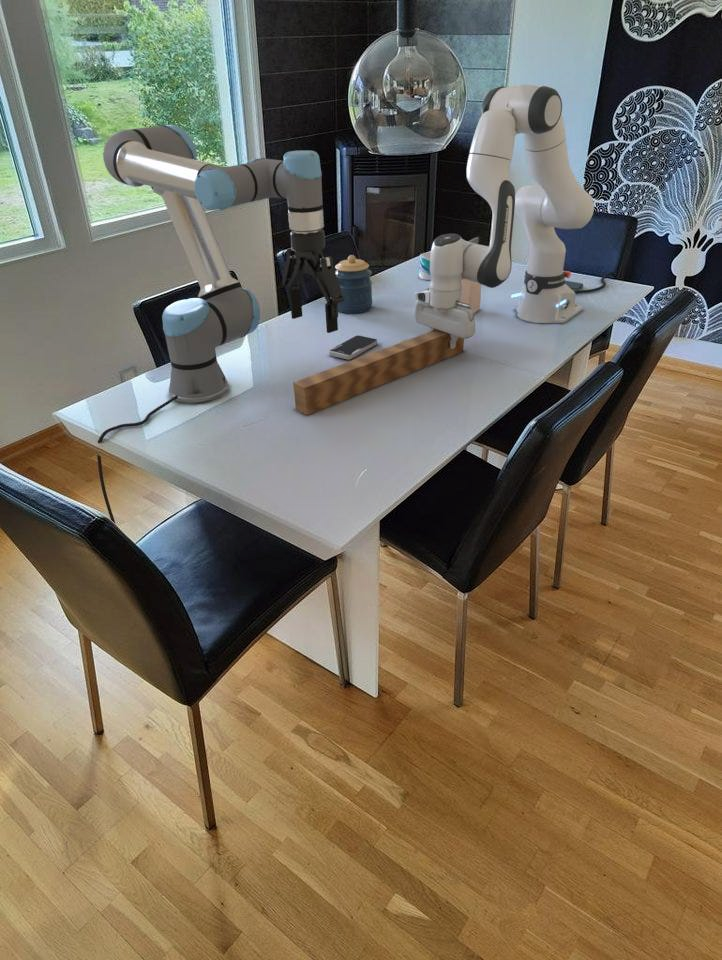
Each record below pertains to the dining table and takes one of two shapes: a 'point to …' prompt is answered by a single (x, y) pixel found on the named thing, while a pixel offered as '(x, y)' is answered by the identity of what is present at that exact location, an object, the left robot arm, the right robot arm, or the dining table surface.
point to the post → (372, 370)
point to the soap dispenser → (471, 289)
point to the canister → (354, 285)
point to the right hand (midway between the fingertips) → (443, 345)
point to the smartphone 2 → (574, 285)
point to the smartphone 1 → (353, 347)
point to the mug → (425, 266)
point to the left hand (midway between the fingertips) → (314, 324)
